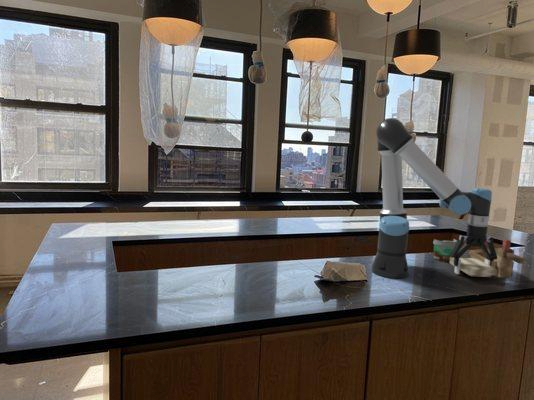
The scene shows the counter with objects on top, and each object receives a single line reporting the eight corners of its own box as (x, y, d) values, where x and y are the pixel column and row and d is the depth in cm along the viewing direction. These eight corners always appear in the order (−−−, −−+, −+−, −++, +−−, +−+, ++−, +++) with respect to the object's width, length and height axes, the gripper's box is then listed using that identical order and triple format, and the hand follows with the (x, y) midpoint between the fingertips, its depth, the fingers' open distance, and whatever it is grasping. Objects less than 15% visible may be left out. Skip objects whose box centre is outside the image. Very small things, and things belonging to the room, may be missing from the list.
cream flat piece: (467, 276, 159) (468, 268, 159) (449, 265, 174) (450, 257, 174) (496, 277, 160) (497, 269, 159) (475, 266, 175) (476, 258, 174)
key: (519, 263, 156) (521, 246, 155) (500, 255, 168) (502, 239, 167) (524, 263, 156) (527, 246, 155) (505, 255, 168) (508, 239, 167)
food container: (439, 263, 183) (442, 242, 181) (430, 259, 188) (433, 239, 187) (461, 262, 186) (464, 242, 184) (452, 258, 192) (454, 238, 190)
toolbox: (492, 276, 166) (496, 249, 164) (467, 262, 186) (470, 238, 184) (517, 277, 167) (521, 250, 165) (490, 263, 186) (493, 239, 184)
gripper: (454, 225, 160) (447, 275, 163) (511, 228, 161) (504, 277, 164) (445, 221, 167) (439, 270, 171) (500, 224, 168) (493, 272, 172)
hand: (471, 274), depth 167 cm, fingers closed on cream flat piece, 12 cm apart
